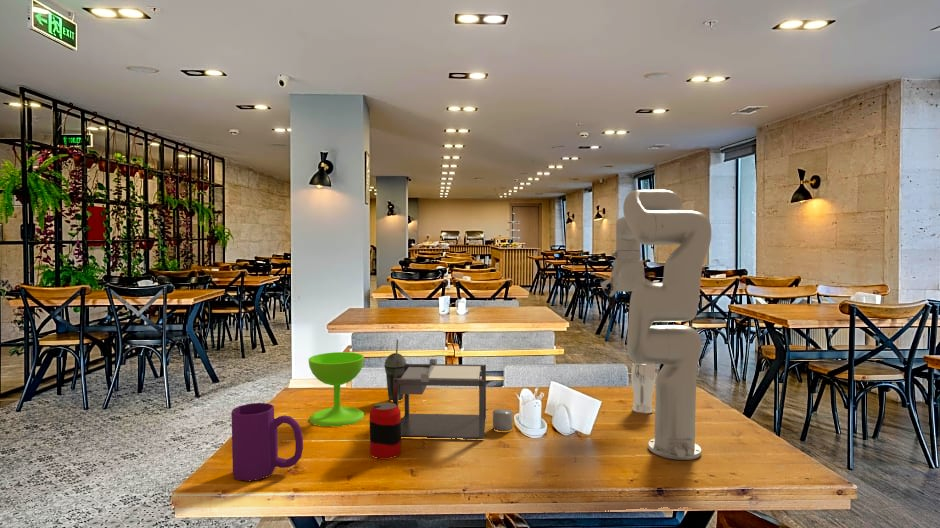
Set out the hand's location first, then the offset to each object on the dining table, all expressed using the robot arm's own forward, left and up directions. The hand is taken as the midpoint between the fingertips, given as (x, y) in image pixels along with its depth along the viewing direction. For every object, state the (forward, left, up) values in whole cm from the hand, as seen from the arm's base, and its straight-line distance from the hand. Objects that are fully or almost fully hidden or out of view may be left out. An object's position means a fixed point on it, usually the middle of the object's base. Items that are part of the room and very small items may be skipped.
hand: (627, 308), depth 181 cm
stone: (-30, +40, -30) cm, 59 cm away
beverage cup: (-5, +75, -30) cm, 81 cm away
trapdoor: (-30, +57, -19) cm, 67 cm away
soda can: (-49, +69, -30) cm, 90 cm away
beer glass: (-11, -3, -30) cm, 32 cm away
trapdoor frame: (-30, +57, -30) cm, 71 cm away
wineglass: (-23, +89, -30) cm, 97 cm away
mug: (-62, +93, -30) cm, 116 cm away
